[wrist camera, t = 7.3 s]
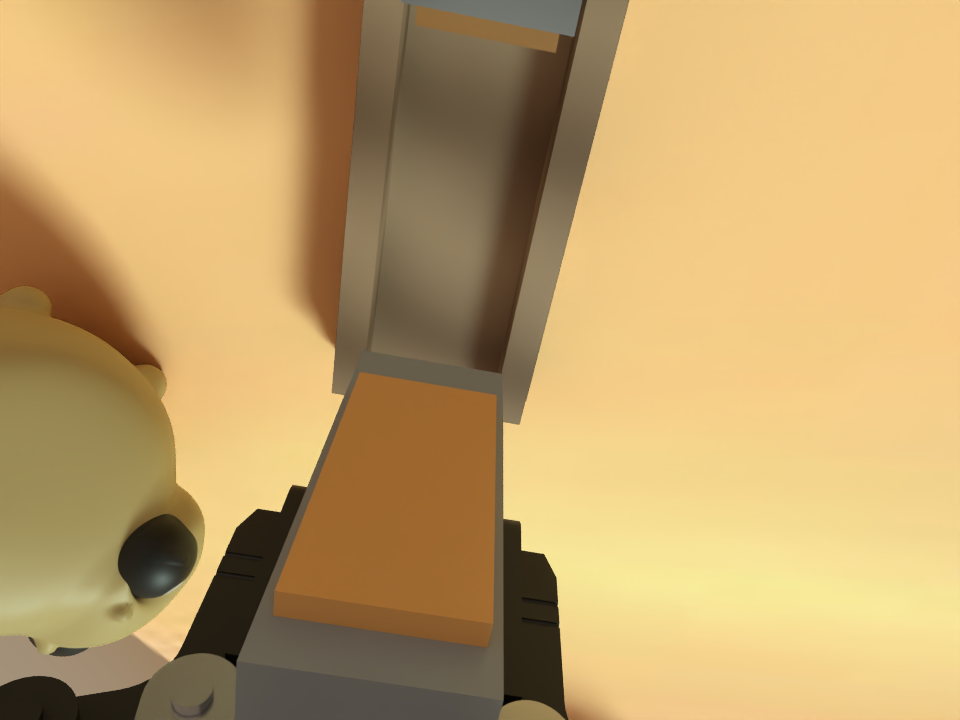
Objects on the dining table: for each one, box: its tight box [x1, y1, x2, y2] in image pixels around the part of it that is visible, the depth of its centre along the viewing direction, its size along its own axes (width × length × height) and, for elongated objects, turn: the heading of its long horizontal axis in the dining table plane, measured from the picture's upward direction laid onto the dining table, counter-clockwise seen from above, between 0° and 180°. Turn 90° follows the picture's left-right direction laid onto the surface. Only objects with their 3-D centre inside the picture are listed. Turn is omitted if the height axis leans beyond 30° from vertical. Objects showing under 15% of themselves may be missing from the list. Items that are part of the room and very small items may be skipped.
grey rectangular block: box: [235, 350, 504, 720], centre depth 13 cm, size 5×3×8 cm, turn 170°
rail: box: [332, 0, 629, 425], centre depth 18 cm, size 20×7×9 cm, turn 170°
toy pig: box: [0, 286, 205, 656], centre depth 23 cm, size 10×12×11 cm
